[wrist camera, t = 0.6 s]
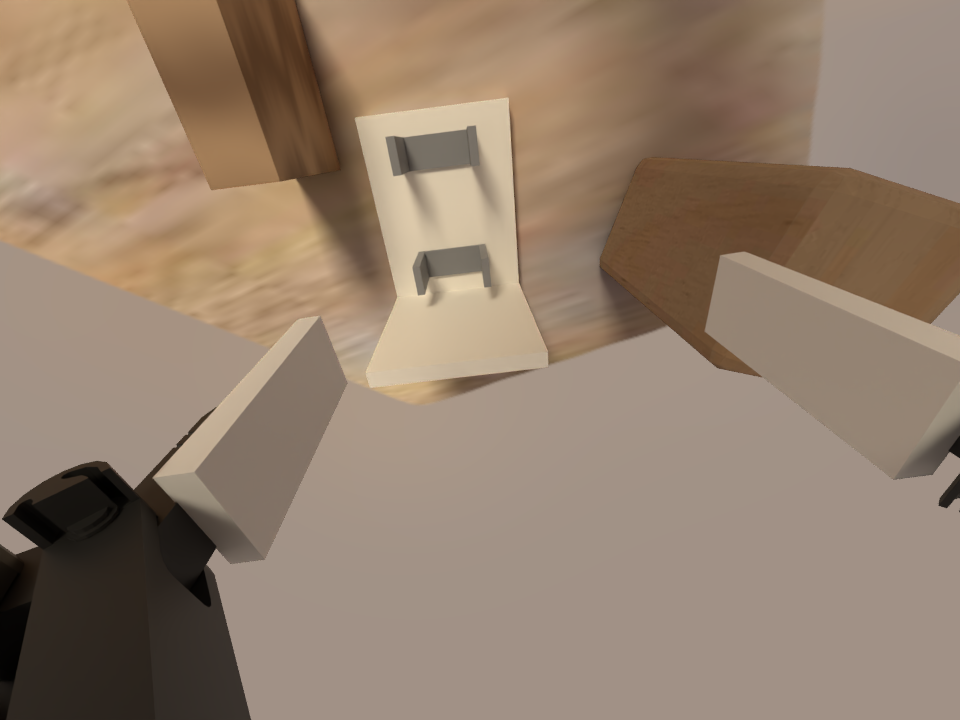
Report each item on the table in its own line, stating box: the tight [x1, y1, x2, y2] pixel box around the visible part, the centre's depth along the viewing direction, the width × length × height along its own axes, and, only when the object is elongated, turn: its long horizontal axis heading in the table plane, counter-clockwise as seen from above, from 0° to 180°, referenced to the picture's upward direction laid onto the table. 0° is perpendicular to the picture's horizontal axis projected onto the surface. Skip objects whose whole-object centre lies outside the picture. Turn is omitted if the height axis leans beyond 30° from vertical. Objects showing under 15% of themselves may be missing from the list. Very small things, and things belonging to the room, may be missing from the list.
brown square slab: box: [127, 0, 341, 190], centre depth 23 cm, size 12×4×12 cm, turn 6°
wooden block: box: [600, 157, 960, 377], centre depth 26 cm, size 10×10×20 cm
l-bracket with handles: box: [355, 98, 548, 388], centre depth 27 cm, size 16×12×15 cm
